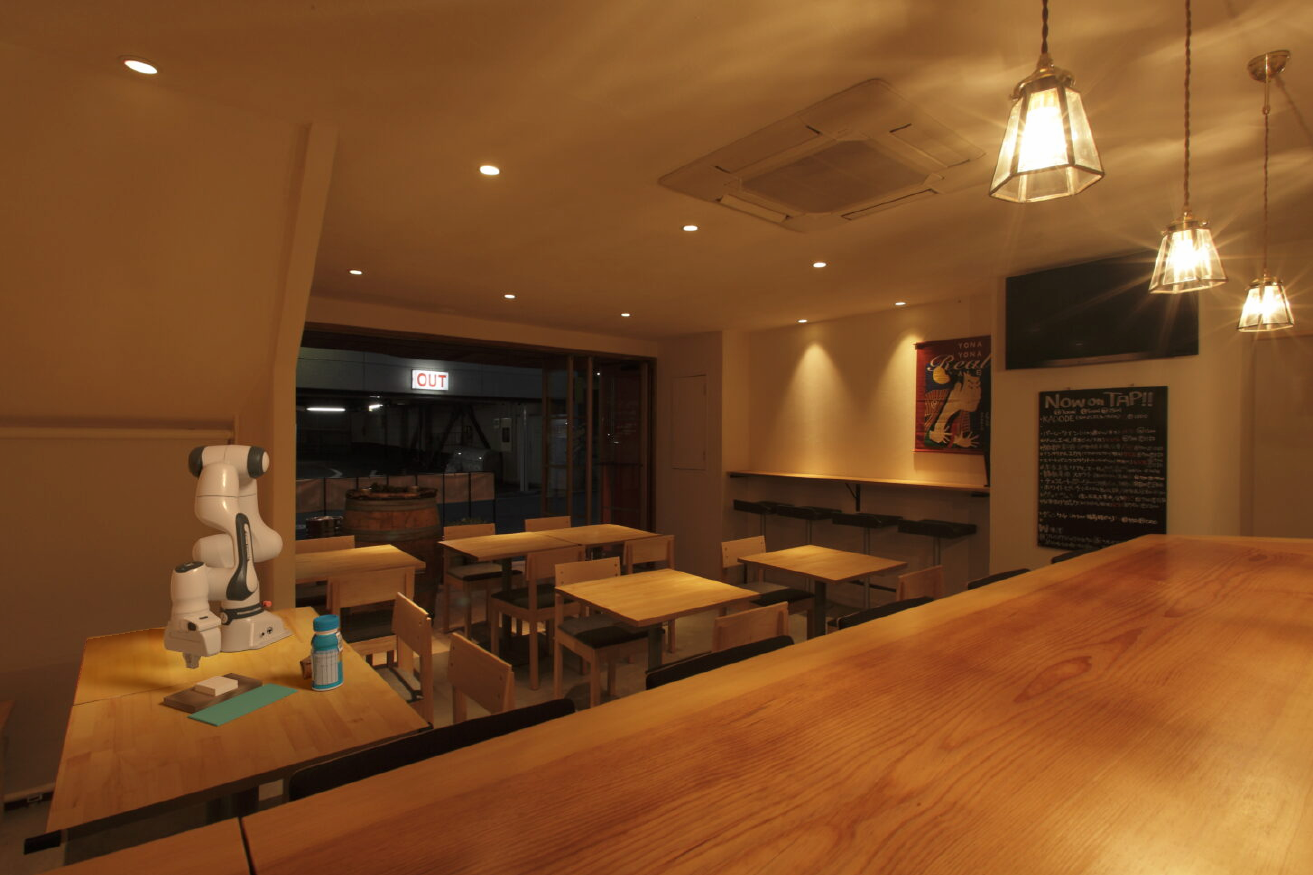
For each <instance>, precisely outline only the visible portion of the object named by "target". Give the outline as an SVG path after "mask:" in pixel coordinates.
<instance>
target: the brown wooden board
mask: <svg viewBox="0 0 1313 875" xmlns="http://www.w3.org/2000/svg"><path fill="white" fill-rule="evenodd" d="M221 677H225V678H229V679H233V680H237V681H238V688H236V689H233V690H230V691H228V692H225V693H223V694H220V695H218V696H212V695H209V694H205V693H201V692H198V691H195V685H193V686H191V687H188V688H185V689H182V690H180V691H177V692H174V693H171V694H169V695H167V696H164V697H163V705H164V706H165V707H166V706H167V707H170V708H174V709H178V710H181V711H184V712H186V713H191V714H194V713H196V712H199V711H201V710H204V709H206V708H208V707H211V706H213V705H216V704H218V703H221V702H223V701H226V700H228V699H231V698H233V697H236V696H238V695H241V694H243V693H246V692H248V691H251V690H253V689H256V688H258V687H261V686H263V680H262V679H258V678H254V677H250V676H246V675H242V674H237V673H234V672H229V673H227V674H224V675H221Z"/></svg>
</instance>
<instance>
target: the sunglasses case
mask: <svg viewBox="0 0 1313 875" xmlns="http://www.w3.org/2000/svg"><path fill="white" fill-rule="evenodd" d="M299 663H300V664H301V666H302V669H303V679H304V680H309V679H312V665H311V655H308V656H307V657H305V658H304V659H301V660H300V661H299Z"/></svg>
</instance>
